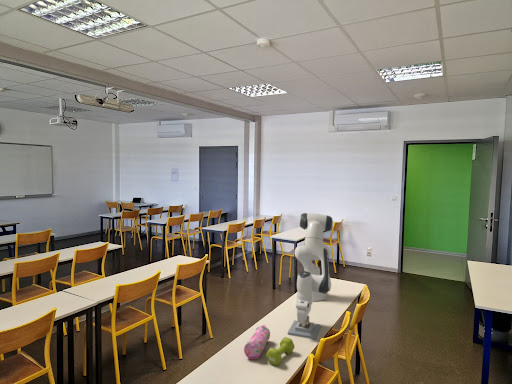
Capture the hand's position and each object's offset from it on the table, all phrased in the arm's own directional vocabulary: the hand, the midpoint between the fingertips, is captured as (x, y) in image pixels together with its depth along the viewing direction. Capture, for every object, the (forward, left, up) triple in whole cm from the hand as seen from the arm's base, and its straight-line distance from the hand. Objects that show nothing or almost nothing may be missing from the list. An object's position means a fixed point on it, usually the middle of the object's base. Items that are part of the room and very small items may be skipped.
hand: (304, 323), depth 188 cm
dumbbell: (+31, -5, -4) cm, 32 cm away
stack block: (0, 0, -2) cm, 2 cm away
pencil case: (+28, -19, -4) cm, 34 cm away
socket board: (0, 0, -4) cm, 4 cm away
